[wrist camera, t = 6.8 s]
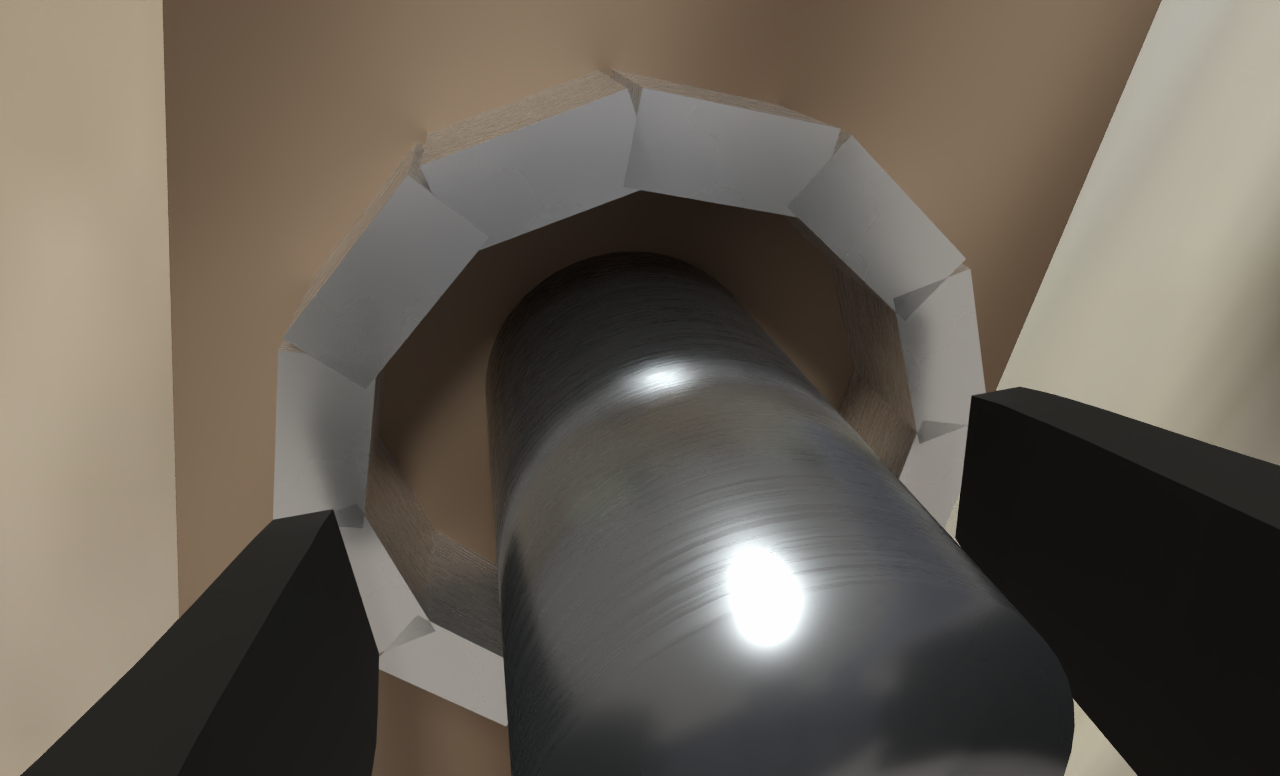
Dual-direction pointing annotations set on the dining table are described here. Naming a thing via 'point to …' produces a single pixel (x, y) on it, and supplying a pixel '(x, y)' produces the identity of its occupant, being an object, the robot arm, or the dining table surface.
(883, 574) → the cylinder
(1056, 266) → the dining table surface
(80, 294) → the dining table surface
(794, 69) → the collar board
